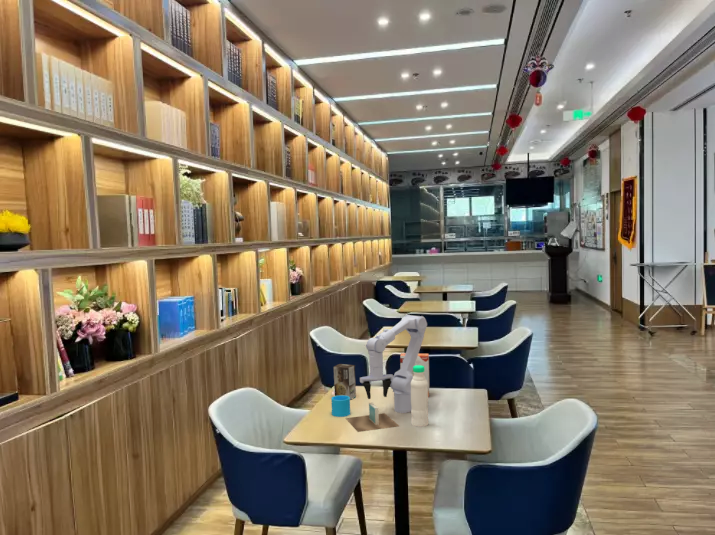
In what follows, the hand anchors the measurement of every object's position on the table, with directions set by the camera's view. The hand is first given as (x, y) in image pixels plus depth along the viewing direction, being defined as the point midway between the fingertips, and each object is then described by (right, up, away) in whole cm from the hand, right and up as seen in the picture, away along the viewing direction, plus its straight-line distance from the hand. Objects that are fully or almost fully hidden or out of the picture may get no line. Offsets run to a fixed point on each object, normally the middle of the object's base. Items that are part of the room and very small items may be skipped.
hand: (377, 397), depth 225 cm
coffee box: (-14, -9, +36) cm, 40 cm away
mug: (-15, -10, +9) cm, 20 cm away
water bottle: (+18, -10, -8) cm, 22 cm away
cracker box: (+20, -8, +36) cm, 42 cm away
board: (-2, -10, -5) cm, 11 cm away
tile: (-1, -9, -4) cm, 10 cm away
